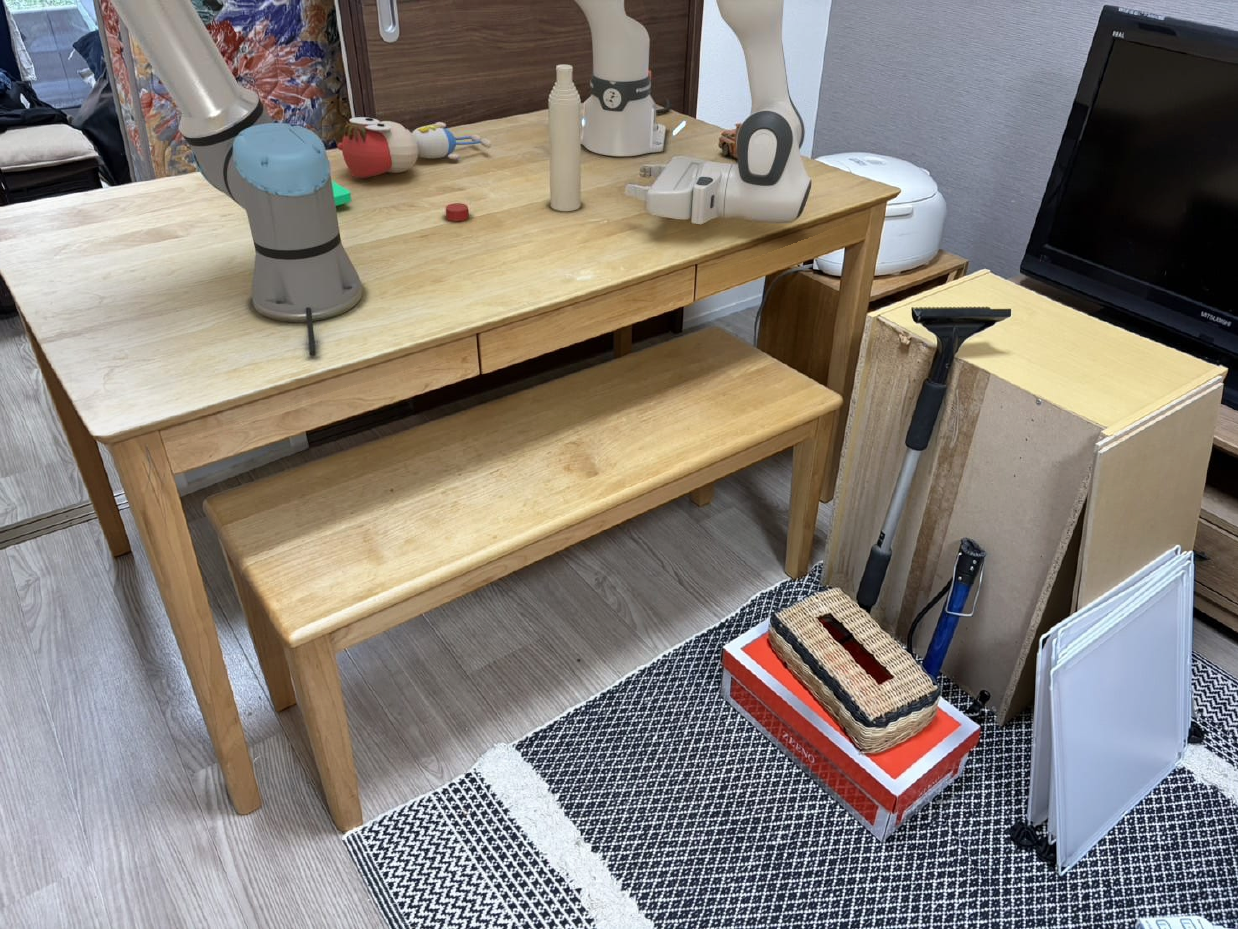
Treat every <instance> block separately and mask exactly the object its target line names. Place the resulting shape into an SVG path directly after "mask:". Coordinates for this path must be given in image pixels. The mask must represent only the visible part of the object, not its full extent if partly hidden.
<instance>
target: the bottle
mask: <svg viewBox="0 0 1238 929" xmlns="http://www.w3.org/2000/svg"><path fill="white" fill-rule="evenodd" d="M555 71H556V72H555V73H556V79H555V80H556V81H555V82H554V85H553V86H552V90H551V91H550V94H548V104H547V105H548V146H549V148H548V149H549V153H548V154H549V196H550V197H549V198H550V200H549V202H550V208H551V209H553V210H555V211H559V212H572V211H577V210H579V209H580V208H581V206H582V204H581V203H582V202H581V201H582V198H581V197H582V196H581V195H582V194H581V193H582V192H581V191H582V188H581V186H582V185H581V184H582V183H581V182H582V178H581V176H582V175H581V170H582V168H581V167H582V166H581V165H582V164H581V163H582V161H581V160H582V156H581V155H582V154H581V152H582V150H581V148H582V147H581V146H582V144H581V133H582V130H581V129H582V126H581V125H582V114H581V112H582V110H581V109H582V108H581V107H582V101H581V100H582V99H581V95H580V94H579V91H578V90H577V87H576V85H575V83H574V82H573V71H574V69H573V66H572V65H571V64H566V63H565V64H557V65H556V68H555Z"/></svg>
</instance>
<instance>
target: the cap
mask: <svg viewBox="0 0 1238 929" xmlns="http://www.w3.org/2000/svg"><path fill="white" fill-rule="evenodd" d="M469 212H470V211H469V206H468V205H467V204H465V203H460V202H454V203H450V204H449V203H448V204H447V205H446V206H445V216H446V219H447V220H448V221H450V222H456V223H457V222H464V221H467V220H468V219H469V216H470V214H469Z"/></svg>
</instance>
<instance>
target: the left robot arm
mask: <svg viewBox="0 0 1238 929" xmlns="http://www.w3.org/2000/svg"><path fill="white" fill-rule="evenodd" d="M109 2H110V3H111V5H112V6H113V8H114V9H115V11H116V13H117V14H118V16H119V17H120V19H121V21H122V23H123V24H124V25H125V27H126V28H127V30H128V31H129V34H130V35H131V37H132V38H133V40H134V41H135V43H136V44H137V45H138V48H139V49H140V51H141V52H142V53H143V55H144V56H145V59H146V60H147V61H148V62H149V65H150V67H152V69H153V71H154V72H155V74H156V75H157V77H158V79H159V80H160V82H161V84H162V85H163V86H164V88H165V90H166V91H167V93H168V94H169V96H170V98H171V99H172V101H173V102H174V103H175V105H176V107H177V109H178V110H179V111H180V114H181V117H180V121H179V124H178V130H179V132H180V134H181V135H182V137H183V138H184V140H185V142H186V143H187V145H188V146H189V148H190V152H191V156H192V158H193V162H194V164H195V165H196V168H197V170H198V171H199V173H200V174H201V175H202V177H203V178H204V179H205V180H206V181H207V182H208V183H209V184H210V185H211V186H212V187H213V188H215V189H216V190H217V191H219V192H221V193H223V194H224V195H225V196H227V197H228V198H230V199H231V200H232V201H233V202H235V203H236V204H237V205H238V206H240V207H241V208H242V209H244V210H245V213H246V215H247V219H248V220H247V221H248V224H249V228H250V233H251V237H252V242H253V247H254V251H255V258H254V264H253V273H252V283H251V299H252V303H253V307H254V309H255V310H256V311H257V313H259V314H260V315H262V316H264V317H266V318H268V319H271V320H275V321H281V322H289V323H304V322H306V325H307V334H308V336H307V337H308V346H309V348H308V349H309V355H310V356H311V357H315V356H316V354H317V353H316V342H315V332H314V323H313V322H314V321H315V322H316V321H320V320H326V319H330V318H332V317H336V316H338V315H341V314H343V313H345V312H348V311H349V310H351V309H353V308H354V307H355V306H356V305H357V304H358V303H359V302H360V301H361V298H362V297H363V287H362V282H361V279H360V276H359V274H358V272H357V270H356V268H355V266H354V264H353V263H352V261H351V259H350V257H349V255H348V253H347V251H346V250H345V248H344V245H343V243H342V239H341V233H340V225H339V219H338V213H337V206H335V200H334V193H333V187H332V181H333V180H332V174H331V169H332V168H331V162H330V160H329V156H328V154H327V151H326V147H325V144H324V142H323V140H322V139H321V138H320V136H319V135H317V134H316V133H315V132H313V131H312V130H310V129H309V128H307V127H303V126H301V125H291V124H290V123H285V122H273V120H272V119H271V117H270V115H269V113H268V112H267V110H266V108H265V106H264V105H263V102H262V101H261V99H260V98H259V96H258V94H257V93H256V91H254V90H252V89H249V88H246V87H242V86H241V85H240V84H239V83H238V81H237V80H236V78H235V76H234V74H233V73H232V71H231V69H230V68H229V66H228V64H227V62H226V60H225V59H224V56H223V55H222V53H221V52H220V50H219V48H218V46H217V44H216V43H215V41H214V40H213V37H212V36H211V34H210V33H209V31H208V29H207V27H206V25H205V24H204V21H203V19H202V18H201V17H200V15H199V13H198V11H197V9H196V8H195V6H194V5H193V3H192V1H191V0H109Z"/></svg>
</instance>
